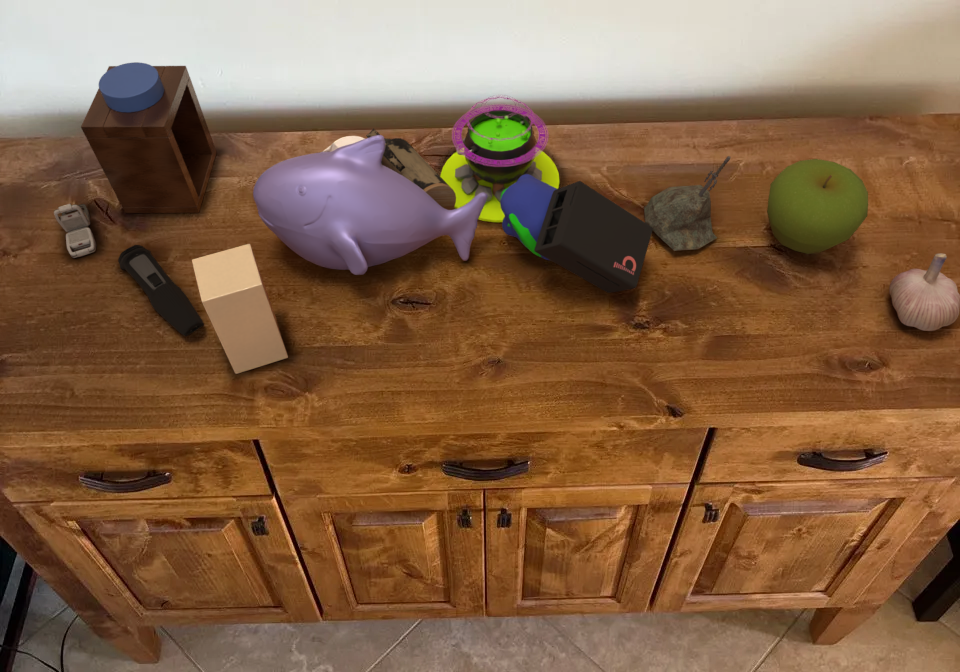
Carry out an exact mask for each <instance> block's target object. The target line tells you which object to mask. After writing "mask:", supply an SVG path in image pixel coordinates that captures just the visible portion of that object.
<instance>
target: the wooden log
mask: <svg viewBox="0 0 960 672" xmlns="http://www.w3.org/2000/svg"><path fill="white" fill-rule="evenodd" d="M376 135H381V134H380V133H379V132H378V130H376V129H375V128H372V129H371V131H370V132H369V133H367V134H366V135H365V137H366V138H370V137H372V136H376ZM384 139H385V151H384V154H383V157H382V161H381V164H382V165H383V166H386V167H388V168H389V169H391V170H393V171H395V172H397V173H398V174H400V175H402V176H404V177H405V178H407V179H408V180H410V181H411V182H413V183H414V184H416V185H417V186H419V187H420V188H421V189H423V190H424V191H425V192H426V193H427V194H428V195H429V196H430V197H431V198H432V199H434V200H435V201H436V202H437V203H438V204H439V205H440V206H441V207H443V208H444V209H447V210H454V209H455V208H454V206H455V203H456V195H455V192H454V191H453V189H452V188H451V187H450V186H449V185H448V184H447V183H446V182H445V181H444V180H443V179H442V178H441V177H440V175H439V173H438V172H436V170H435V169H434V168H433V167H432V166H431V165H430V164H429V163H428V162H427V161H426V160H425V159H424V157H422V156H421V155H420V154H419V152H418V151H417V150H416V149H415V148H414V147H413V146H412V145H411V144H410V143H409V142H408V141H407V140H405V139H404V138H402V137H401V138H400V137H395V138H386V137H384Z"/></svg>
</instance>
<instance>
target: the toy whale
mask: <svg viewBox="0 0 960 672" xmlns="http://www.w3.org/2000/svg"><path fill="white" fill-rule="evenodd" d="M384 138H385V136H384V135H382V134H380V135H376V136H372V137H370V138H367V137H366V138H365V139H363V140H361V141H358V142H355V143H353V144H349V145H345V146H342V147H339V148H337V149H336V150H334V151H332V152H323V151H321V152H314V153H307V154H303V155H299V156H294V157H291V158H287V159H284V160H282V161H279V162H277V163H275V164H273V165H271V166H270V167H269V168H267V169H265V170H264V171H263V172H262V173H261V174H260V176H259V177H257V180H256V182H255V184H254V187H253V191H252V197H253V201H254V203H255V205H256V208H257V215H258V217H259V218H260V220H261V221H262V222H263V224H264V225H265V226H266V227H267V228H268V229H269V230H270V231H271V232H272V233H273V234H274V235H275V236H276V237H277V238H278V239H279V240H280V241H281V242H282V243H283V245H285V246H286V247H288V248H289V249H290V250H291V251H292V252H294V253H295V254H296V255H298V256H299V257H301V258H303V259H304V260H306V261H308V262H310V263H312V264H314V265H316V266H318V267H322V268H326V269H330V270H331V269H332V270H338V271H339V270H344V271H345V270H347V271H350V273H351V274H353V275H355V276H361V275H364V274H366V272H367V271H368V269H369V267H374V266H378V265H381V264H384V263H388V262H390V261H392V260H396V259H399V258H402V257H404V256H406V255H408V254H410V253H412V252H414V251H417V250H418V249H420V248H421V247H423V246H425V245H427V244H429V243H430V242H432V241H434V240H435V239H437V238H439V237H443V236H448V237H450V238H451V241H452V242H453V244H454V246H455V249H456V251H457V254H458V255H459V257H460V259H461V260H462V261H465V262H466V261H468V260H469V258H470V253H471V246H472V242H473V240H474V239H475V233H476V230H477V228H478V221H479V220H478V218H479V216H480V214H481V211H482V209H483V207H484V205H485V203H486V200H487V197H488V196H487V194H486V193H484V192H482V193H479V194H478V195H476V196H475V197H474V198H473V199H472V200H471V201H470V202H469V203H467V204H466V205H464V206H462V207H460V208H457V209H455V208H453V210H447V209H444V208H443V207H441V206H440V205H439V204H438V203H437V202H436V201H435V200H434V199H432V198H431V197H430V196H429V195H428V194H427V193H426V192H425V191H424V190H423V189H421V188H420V187H419V186H417V185H416V184H414V183H413V182H411V181H410V180H408V179H407V178H405V177H404V176H402V175H400V174H398V173H397V172H395V171H393V170H391V169H389V168H388V167H386V166H383V165H382V164H381V161H382V157H383V154H384V151H385V139H384Z"/></svg>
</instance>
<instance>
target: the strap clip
mask: <svg viewBox="0 0 960 672" xmlns="http://www.w3.org/2000/svg"><path fill="white" fill-rule="evenodd" d="M59 214H61V215H60V216H59ZM53 215H54V218H55V220H56V222H57V223H58V224H59V225H60V227H61V228H62V229H63V230H64V231H65V232H66V234H65V240H66V241H65V243H66V250H67V251H68V254H69V255H70V257H71V258H73V259H75V258H80V257H84V256H86V255H89V254H92V253H95V252H96V251H97V242H96V240H95V239H96V238H95V236H94V234H93V232H92V230H91V228H90V227H89V226H90V225H91V218H90V211H89V209H88V207H87V204H85V203H81V204H76V203H75V204H72V203H67V204H64V205H60V206H58V207H57V209H55V210H53Z"/></svg>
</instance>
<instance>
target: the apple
mask: <svg viewBox="0 0 960 672" xmlns="http://www.w3.org/2000/svg"><path fill="white" fill-rule="evenodd" d="M766 208H767V209H766V213H767V218H768V223H769V226H770V229H771V232H772V234H773V237H774V239H776V240H777V241H778V242H779V243H780V245H782V246H783V247H785V248H787V249H790V250H792V251H795V252H799V253H803V254H805V255H806V254H807V255H811V254H819V253H822V252H825V251H827V250H829V249H832V248H833V247H836V246H838V245H840V244H842V243H845V242H846V241H848V240H850V238H851V237H852V236H853V235H854V233H855V232H856V231H857V230H858V229H859V228H860V227H861V225H862V224H863V223H864V221H865V220H866V219H867V218H868V213H869V191H868V189H867V187H866V185H865V183H864V181H863V179H861V177H859V176H858V175H857V174H856V173H855V172H854V171H853V170H852V169H851V168H850V167H846V166H845V165H842V164H840V163H838V162H835V161H831V160H825V159H820V158H811V159H810V158H809V159H803V160H799V161H796V162H794V163H792V164H790V165H787V166H786V167H784V169H783V170H781V172H779V173H778V174H777V175H776V177H775V178H774V179H773V180H772V182H771V183H770V186H769V192H768V200H767V207H766Z"/></svg>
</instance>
